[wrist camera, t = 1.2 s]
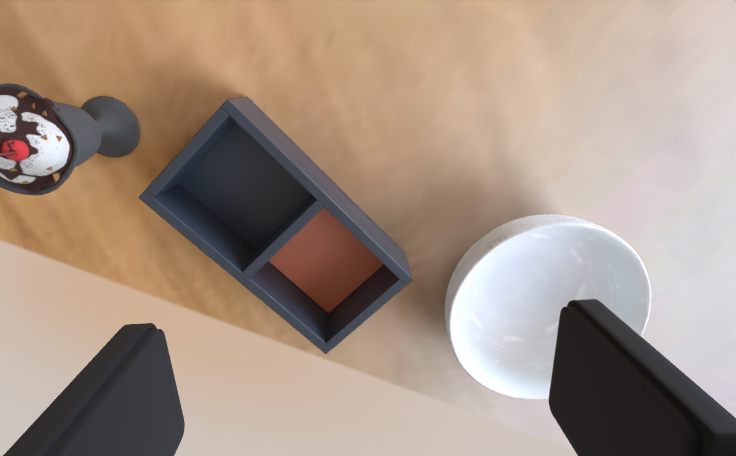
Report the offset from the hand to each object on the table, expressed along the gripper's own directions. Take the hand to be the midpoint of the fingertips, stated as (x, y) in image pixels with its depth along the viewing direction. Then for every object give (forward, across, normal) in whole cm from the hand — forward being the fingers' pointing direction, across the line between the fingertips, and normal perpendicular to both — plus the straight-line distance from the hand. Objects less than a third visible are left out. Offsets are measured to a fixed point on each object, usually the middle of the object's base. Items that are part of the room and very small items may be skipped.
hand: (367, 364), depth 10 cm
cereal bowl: (+28, -16, +13) cm, 35 cm away
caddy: (+28, +6, +5) cm, 29 cm away
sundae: (+28, +20, -4) cm, 35 cm away
